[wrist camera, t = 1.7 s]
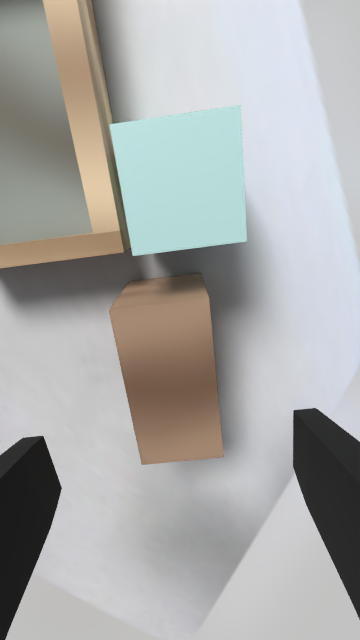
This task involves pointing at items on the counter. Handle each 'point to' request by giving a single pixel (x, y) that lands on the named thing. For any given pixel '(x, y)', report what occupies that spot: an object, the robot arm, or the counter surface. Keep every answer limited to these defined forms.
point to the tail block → (182, 180)
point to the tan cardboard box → (169, 367)
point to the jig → (55, 137)
